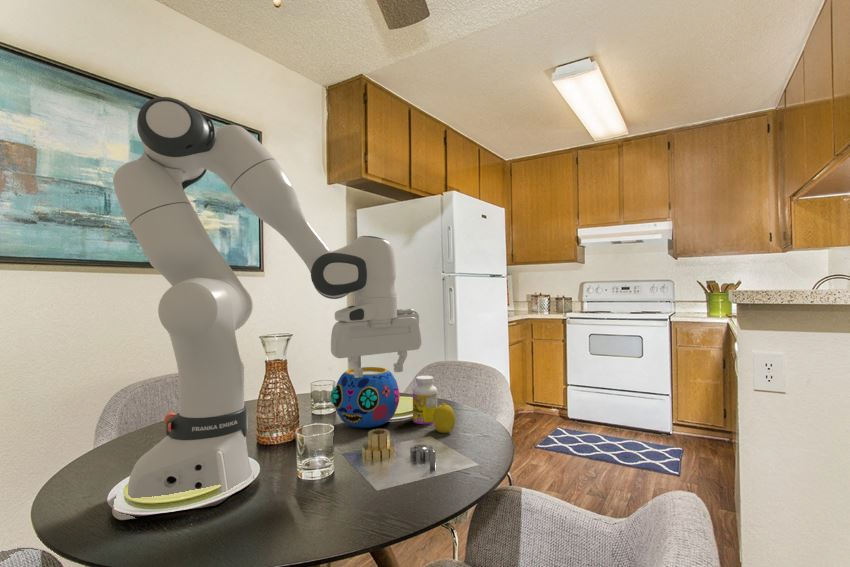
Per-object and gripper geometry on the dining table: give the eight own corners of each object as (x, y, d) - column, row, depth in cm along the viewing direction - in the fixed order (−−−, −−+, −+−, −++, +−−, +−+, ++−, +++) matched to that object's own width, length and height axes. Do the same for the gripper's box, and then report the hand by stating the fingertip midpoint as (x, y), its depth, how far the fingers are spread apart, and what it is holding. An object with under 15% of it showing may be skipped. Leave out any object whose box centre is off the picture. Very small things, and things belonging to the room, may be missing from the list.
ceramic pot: (320, 432, 111) (319, 374, 111) (356, 414, 128) (356, 363, 128) (379, 440, 104) (379, 378, 105) (410, 420, 121) (409, 366, 121)
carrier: (376, 497, 76) (376, 470, 76) (341, 459, 93) (341, 437, 93) (479, 470, 86) (479, 447, 86) (430, 441, 104) (430, 421, 104)
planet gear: (369, 462, 88) (369, 439, 88) (358, 451, 94) (357, 430, 94) (400, 455, 92) (400, 433, 92) (387, 445, 98) (387, 425, 98)
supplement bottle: (408, 423, 118) (407, 376, 118) (429, 419, 121) (428, 373, 121) (420, 430, 112) (420, 380, 112) (442, 425, 115) (441, 377, 116)
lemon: (455, 431, 110) (455, 400, 110) (455, 439, 105) (454, 406, 105) (434, 431, 111) (433, 400, 111) (432, 438, 105) (431, 406, 105)
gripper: (411, 308, 102) (414, 366, 102) (327, 313, 92) (329, 378, 91) (425, 308, 96) (427, 370, 96) (336, 313, 86) (339, 383, 86)
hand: (379, 374), depth 94 cm, fingers open, 8 cm apart
